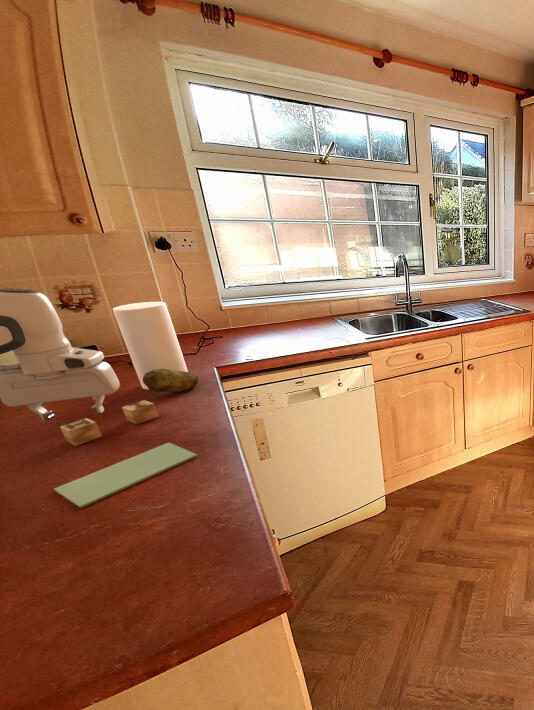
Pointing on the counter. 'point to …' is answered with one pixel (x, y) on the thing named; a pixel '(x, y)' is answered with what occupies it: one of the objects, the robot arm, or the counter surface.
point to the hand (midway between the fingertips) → (74, 415)
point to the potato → (169, 380)
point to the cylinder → (149, 337)
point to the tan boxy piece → (140, 412)
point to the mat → (123, 474)
